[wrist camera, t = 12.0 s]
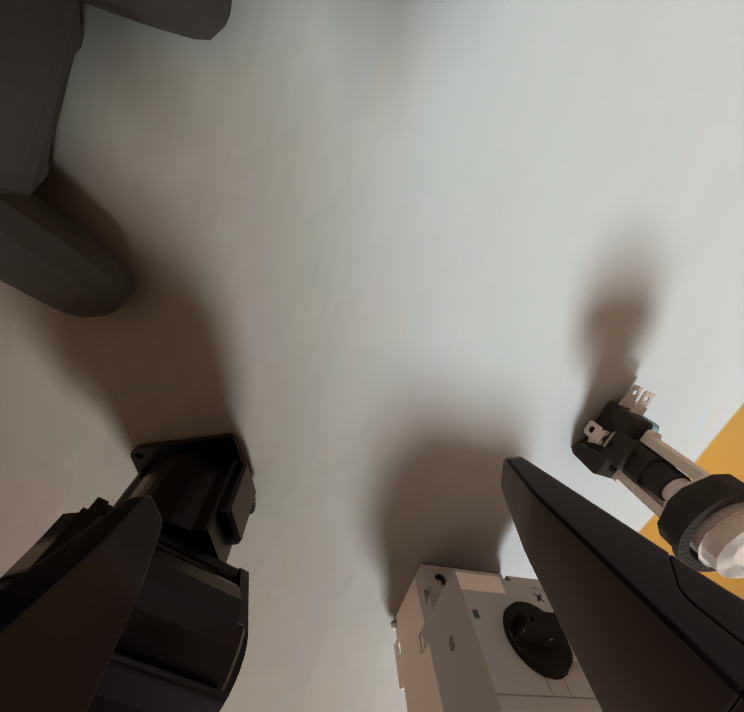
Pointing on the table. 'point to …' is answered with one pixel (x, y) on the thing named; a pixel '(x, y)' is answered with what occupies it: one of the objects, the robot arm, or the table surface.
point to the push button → (669, 486)
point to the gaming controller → (34, 140)
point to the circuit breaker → (485, 646)
